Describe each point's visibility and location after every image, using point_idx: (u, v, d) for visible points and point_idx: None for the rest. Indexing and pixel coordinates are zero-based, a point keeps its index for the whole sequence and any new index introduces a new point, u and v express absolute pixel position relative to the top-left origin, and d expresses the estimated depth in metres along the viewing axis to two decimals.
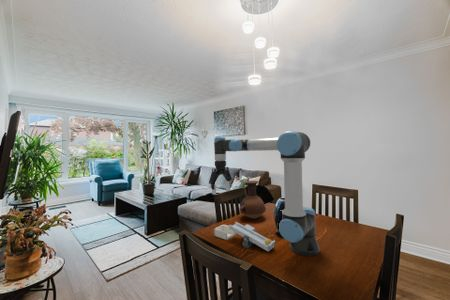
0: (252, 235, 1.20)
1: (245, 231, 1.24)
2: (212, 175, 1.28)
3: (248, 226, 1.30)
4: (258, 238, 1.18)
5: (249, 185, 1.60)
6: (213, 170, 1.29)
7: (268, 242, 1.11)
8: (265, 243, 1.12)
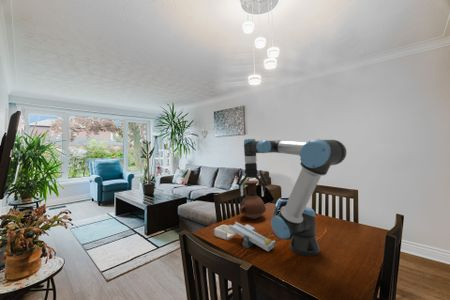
0: (252, 235, 1.20)
1: (245, 231, 1.24)
2: None
3: (248, 226, 1.30)
4: (258, 238, 1.18)
5: (249, 185, 1.60)
6: None
7: (268, 242, 1.11)
8: (265, 243, 1.12)
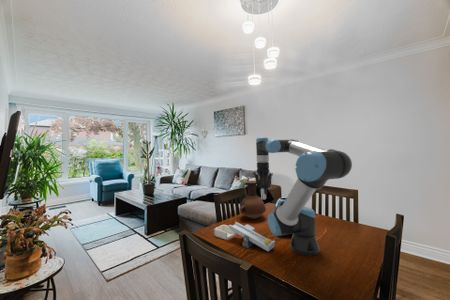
0: (252, 235, 1.20)
1: (245, 231, 1.24)
2: None
3: (248, 226, 1.30)
4: (258, 238, 1.18)
5: (249, 185, 1.60)
6: None
7: (268, 242, 1.11)
8: (265, 243, 1.12)
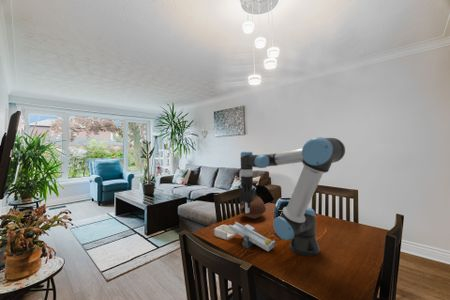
0: (252, 235, 1.20)
1: (245, 231, 1.24)
2: None
3: (248, 226, 1.30)
4: (258, 238, 1.18)
5: None
6: None
7: (268, 242, 1.11)
8: (265, 243, 1.12)
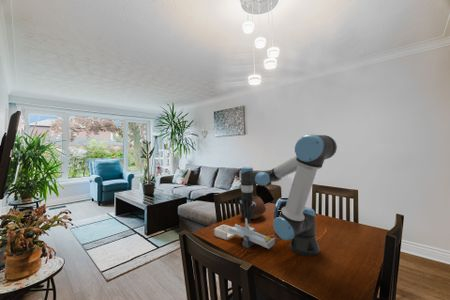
0: (252, 235, 1.20)
1: (245, 232, 1.24)
2: None
3: None
4: (258, 237, 1.18)
5: None
6: None
7: (268, 239, 1.11)
8: (265, 241, 1.12)
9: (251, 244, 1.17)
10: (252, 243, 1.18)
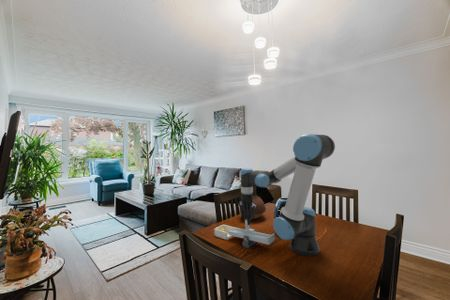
0: (252, 235, 1.20)
1: (245, 233, 1.24)
2: None
3: None
4: (258, 236, 1.18)
5: None
6: None
7: (221, 230, 1.33)
8: None
9: (251, 244, 1.17)
10: (252, 243, 1.18)
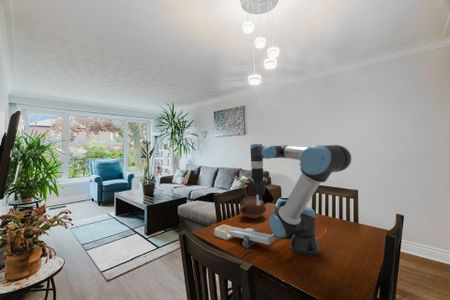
0: (252, 235, 1.20)
1: (245, 233, 1.24)
2: None
3: (248, 229, 1.30)
4: (258, 236, 1.18)
5: (249, 185, 1.60)
6: None
7: None
8: None
9: (251, 244, 1.17)
10: (252, 243, 1.18)
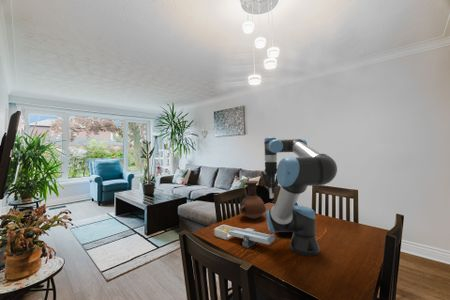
0: (252, 235, 1.20)
1: (245, 233, 1.24)
2: None
3: (248, 229, 1.30)
4: (258, 236, 1.18)
5: (249, 185, 1.60)
6: None
7: None
8: None
9: (251, 244, 1.17)
10: (252, 243, 1.18)
